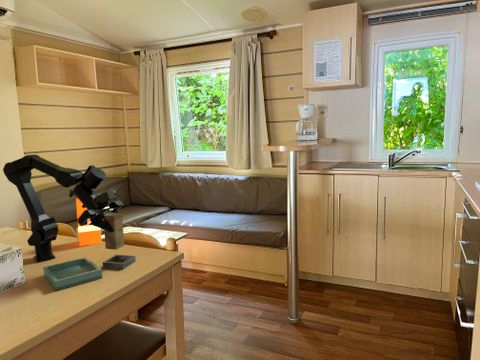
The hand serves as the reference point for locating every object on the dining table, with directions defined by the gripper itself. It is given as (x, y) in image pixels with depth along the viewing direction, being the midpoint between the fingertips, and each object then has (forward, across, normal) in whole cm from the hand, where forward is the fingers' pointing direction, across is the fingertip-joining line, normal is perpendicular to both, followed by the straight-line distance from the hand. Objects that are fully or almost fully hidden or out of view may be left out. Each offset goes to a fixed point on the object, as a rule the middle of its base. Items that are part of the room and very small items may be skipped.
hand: (116, 229), depth 124 cm
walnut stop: (+4, 0, +6) cm, 7 cm away
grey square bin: (+9, +1, +10) cm, 14 cm away
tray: (+3, -12, +16) cm, 20 cm away
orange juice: (-11, +21, +31) cm, 39 cm away
